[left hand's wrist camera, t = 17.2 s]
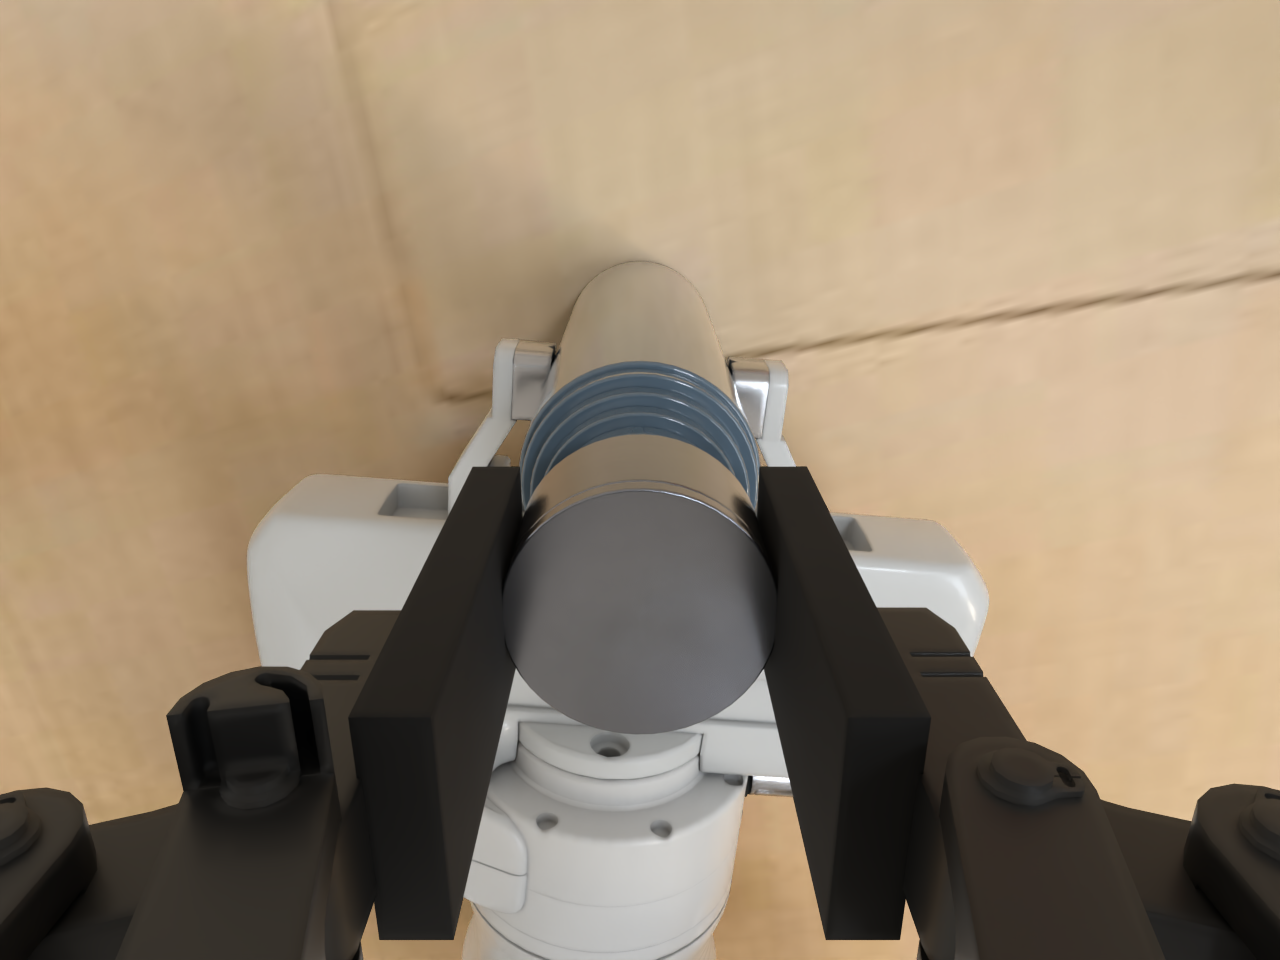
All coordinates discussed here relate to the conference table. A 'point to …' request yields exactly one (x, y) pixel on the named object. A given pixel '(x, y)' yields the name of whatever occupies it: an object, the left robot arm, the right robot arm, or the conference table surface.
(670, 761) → the right robot arm
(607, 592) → the cap
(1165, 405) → the conference table surface
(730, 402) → the bottle
